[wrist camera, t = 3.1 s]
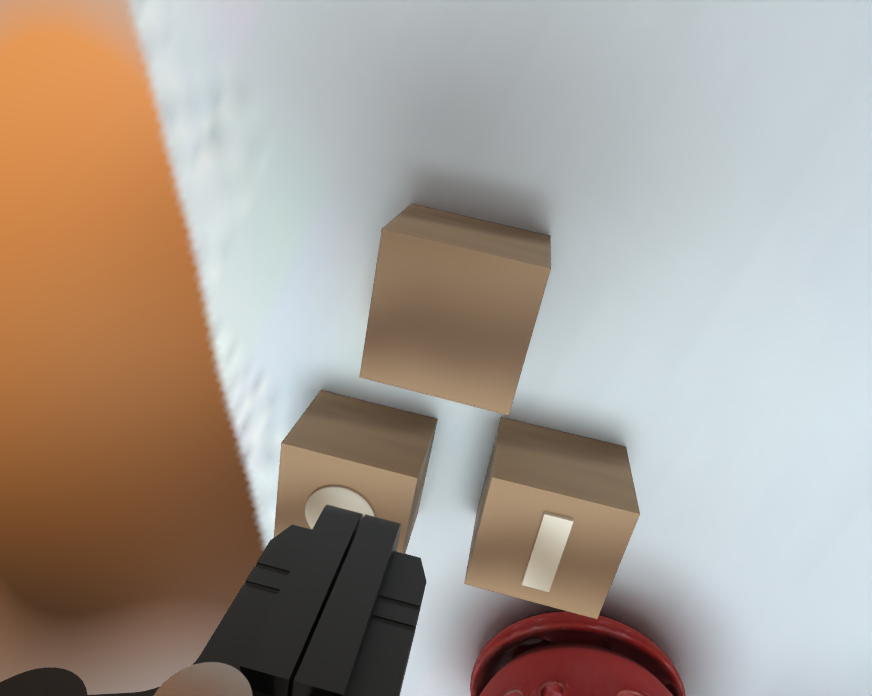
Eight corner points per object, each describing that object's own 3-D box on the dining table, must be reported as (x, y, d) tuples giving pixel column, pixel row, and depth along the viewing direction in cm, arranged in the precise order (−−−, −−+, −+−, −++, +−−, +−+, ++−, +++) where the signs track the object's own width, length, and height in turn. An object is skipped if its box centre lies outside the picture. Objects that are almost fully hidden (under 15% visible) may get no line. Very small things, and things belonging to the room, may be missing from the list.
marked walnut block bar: (501, 415, 29) (491, 480, 24) (625, 445, 28) (640, 517, 23) (476, 512, 31) (463, 587, 27) (590, 540, 31) (597, 622, 26)
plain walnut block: (411, 203, 25) (381, 228, 21) (550, 235, 25) (550, 268, 20) (390, 330, 28) (359, 377, 23) (515, 361, 27) (508, 415, 23)
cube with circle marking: (321, 388, 30) (279, 445, 25) (438, 417, 29) (416, 480, 25) (311, 483, 32) (271, 550, 28) (418, 511, 32) (395, 584, 27)
